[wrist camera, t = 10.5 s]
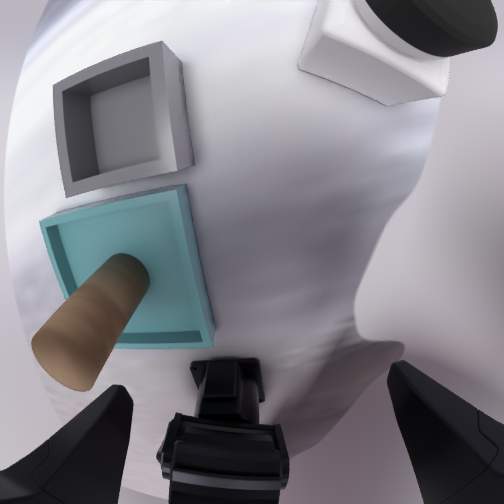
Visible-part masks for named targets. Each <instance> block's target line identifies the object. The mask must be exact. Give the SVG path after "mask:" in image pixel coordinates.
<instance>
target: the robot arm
mask: <svg viewBox="0 0 504 504" xmlns="http://www.w3.org/2000/svg"><path fill="white" fill-rule="evenodd" d="M253 363H254V364H253ZM190 370H191V372H192V375H193V378H194V380H195V383H196V385H197V388H198V390H199V391H198V397H197V402H196V408H195V414H194V417H193V416H187V415H182V414H181V413H176V414H175V417H174V419H172V420H171V422H169V424H168V429H167V433H166V436H165V439H164V441H163V442H162V444H161V446H160V448H159V450H158V452H157V455H156V459H157V460H158V462H159V463H160V464H161V469H162V476H163V478H164V479H168V480H170V487H169V504H278V502H279V496H280V490H283V489H285V487H286V485H287V482H288V478H289V456H288V452H287V448H286V444H285V441H284V437H283V433H282V429H281V425H280V424H273V425H267V424H259V403H262V402H264V401H265V395H264V389H263V383H262V376H261V370H260V363H259V360H257V359H243V360H228V361H209V362H192V363H191V365H190ZM387 385H388V389H389V392H390V396H391V400H392V404H393V408H394V412H395V416H396V419H397V423H398V426H399V428H400V431H401V434H402V437H403V439H404V442H405V445H406V448H407V451H408V454H409V457H410V460H411V462H412V466H413V469H414V472H415V475H416V478H417V482H418V485H419V488H420V492H421V495H422V498H423V502H424V504H504V424H502V423H500V422H498V421H496V420H494V419H493V418H491V417H490V416H488V415H486V414H484V413H483V412H482V411H480V410H477V408H475V407H474V406H472V405H471V404H469V403H468V402H466V401H465V400H463V399H462V398H460V397H459V396H457V395H456V394H454V393H453V392H451V391H450V390H448V389H447V388H445V387H444V386H442V385H441V384H439V383H438V382H436V381H435V380H433V379H432V378H430V377H429V376H427V375H426V374H424V373H423V372H421V371H420V370H418V369H417V368H415V367H414V366H412V365H411V364H409V363H408V362H406V361H404V360H400V361H396V362H393V363H392V364H391V367H390V371H389V374H388V378H387ZM133 406H134V404H133V400H132V398H131V396H130V395H129V393H128V391H127V390H126V388H125V387H124V386H123V385H112V386H110V387H109V388H108V389H107V390H106V391H105V392H103V393H102V394H101V395H100V396H99V397H97V398H96V399H95V400H94V401H93V402H92V403H90V404H89V405H88V406H87V407H86V408H85V409H83V410H82V411H81V412H80V413H79V414H77V415H76V416H75V417H74V418H73V419H72V420H70V421H69V422H68V423H67V424H66V425H64V426H63V427H62V428H61V429H60V430H58V431H57V432H56V433H55V434H54V435H52V436H51V437H50V438H49V439H48V440H46V441H45V442H44V443H43V444H42V445H40V446H39V447H38V448H36V449H35V450H34V451H32V452H31V453H30V454H28V455H27V456H25V457H24V458H22V459H21V460H19V461H18V462H16V463H15V464H13V465H11V466H10V467H8V468H7V469H5V470H2V471H0V504H118V498H119V492H120V486H121V480H122V475H123V470H124V465H125V460H126V455H127V450H128V445H129V440H130V432H131V422H132V414H133Z"/></svg>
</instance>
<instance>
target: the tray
mask: <svg viewBox="0 0 504 504" xmlns="http://www.w3.org/2000/svg"><path fill="white" fill-rule="evenodd" d="M39 223H40V227H41V231H42V234H43V238H44V241H45V244H46V248H47V251H48V254H49V257H50V260H51V263H52V266H53V269H54V271H55V274H56V277H57V279H58V282H59V285H60V287H61V290H62V292H63V295H64V297H65V300H67V299H68V298H69V297H70V296H71V295H72V294H73V293H74V292H75V291H76V290H77V289H78V288H79V287H80V286H81V285H82V284H83V283H84V282H85V281H86V280H87V279H88V278H89V277H90V276H91V275H92V274H93V273H94V272H95V271H96V270H97V269H98V268H99V267H100V266H101V265H102V264H103V263H104V262H106V261H107V260H108V259H109V258H110V257H111V256H113V255H115V254H118V253H126V254H129V255H132V256H134V257H135V258H137V259H138V260H139V261H140V262H141V263H142V264H143V265H144V266H145V268H146V270H147V272H148V274H149V279H150V285H149V289H148V291H147V293H146V294H145V296H144V297H143V299H142V301H141V302H140V304H139V305H138V307H137V309H136V310H135V312H134V314H133V315H132V317H131V319H130V320H129V322H128V324H127V325H126V327H125V329H124V331H123V332H122V334H121V336H120V337H119V339H118V341H117V343H116V344H115V346H114V348H116V349H187V348H210V347H212V346H213V340H214V334H215V324H214V320H213V316H212V311H211V307H210V303H209V299H208V294H207V290H206V285H205V281H204V276H203V271H202V267H201V262H200V257H199V252H198V247H197V242H196V237H195V232H194V227H193V221H192V216H191V211H190V205H189V199H188V194H187V188H186V184H182V185H176V186H170V187H165V188H160V189H154V190H149V191H144V192H139V193H135V194H130V195H125V196H121V197H116V198H112V199H108V200H104V201H99V202H95V203H91V204H87V205H83V206H80V207H76V208H72V209H68V210H65V211H61V212H58V213H55V214H53V215H51V216H49V217H47V218H45V219H43V220H41V221H39Z"/></svg>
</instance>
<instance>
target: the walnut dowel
mask: <svg viewBox="0 0 504 504" xmlns="http://www.w3.org/2000/svg"><path fill="white" fill-rule="evenodd" d="M149 285H150V279H149V274H148V272H147V270H146V268H145V266H144V265H143V264H142V263H141V262H140V261H139V260H138V259H137V258H135V257H134V256H132V255H129V254H126V253H118V254H115V255H113V256H111V257H110V258H109V259H108V260H107V261H106V262H104V263H103V264H102V265H101V266H100V267H99V268H98V269H97V270H96V271H95V272H94V273H93V274H92V275H91V276H90V277H89V278H88V279H87V280H86V281H85V282H84V283H83V284H82V285H81V286H80V287H79V288H78V289H77V290H76V291H75V292H74V293H73V294H72V295H71V296H70V297H69V298H68V299H67V300H66V301H65V302H64V303H63V304H62V305H61V306H60V308H59V309H58V310H57V311H56V312H55V313H54V314H53V315H52V316H51V317H50V318H49V319H48V321H47V322H46V323H45V324H44V325H43V326H42V327H41V328H40V330H39V331H38V332H37V333H36V334H35V335H34V337H33V338H32V343H31V344H32V350H33V353H34V355H35V357H36V359H37V361H38V362H39V364H40V365H41V366H42V368H43V369H44V370H45V371H46V372H47V373H48V374H49V375H50V376H51V377H52V378H53V379H55V380H56V381H57V382H59V383H60V384H62V385H63V386H65V387H67V388H70V389H72V390H75V391H80V392H85V391H89V390H90V389H91V388H92V387H93V385H94V383H95V381H96V379H97V377H98V375H99V374H100V372H101V370H102V368H103V366H104V364H105V362H106V361H107V359H108V357H109V355H110V353H111V352H112V350H113V348H114V346H115V344H116V343H117V341H118V339H119V337H120V336H121V334H122V332H123V331H124V329H125V327H126V325H127V324H128V322H129V320H130V319H131V317H132V315H133V314H134V312H135V310H136V309H137V307H138V305H139V304H140V302H141V301H142V299H143V297H144V296H145V294H146V293H147V291H148V289H149Z"/></svg>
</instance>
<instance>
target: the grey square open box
mask: <svg viewBox="0 0 504 504" xmlns="http://www.w3.org/2000/svg"><path fill="white" fill-rule="evenodd" d="M53 106H54V120H55V132H56V141H57V149H58V156H59V163H60V169H61V175H62V180H63V185H64V190H65V195H66V198H68V197H71V196H75V195H78V194H82V193H85V192H89V191H93V190H96V189H100V188H104V187H108V186H112V185H116V184H120V183H124V182H128V181H132V180H137V179H141V178H146V177H151V176H155V175H160V174H165V173H170V172H176V171H179V170H182V169H184V168H187V167H190V166H193V165H194V159H193V152H192V145H191V138H190V130H189V123H188V115H187V107H186V99H185V91H184V82H183V73H182V63H181V61H180V60H179V59H178V58H177V56H176V55H175V54H174V53H173V52H172V51H171V50H170V49H169V48H168V47H167V46H166V44H165V43H164V42H163V41H160V42H156V43H153V44H149V45H146V46H143V47H140V48H137V49H134V50H131V51H128V52H125V53H122V54H119V55H117V56H114V57H112V58H109V59H107V60H104V61H102V62H99V63H97V64H95V65H92V66H90V67H88V68H86V69H84V70H81V71H79V72H77V73H75V74H73V75H71V76H69V77H67V78H65V79H63V80H61V81H60V82H58V83H56V84H54V85H53Z"/></svg>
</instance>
